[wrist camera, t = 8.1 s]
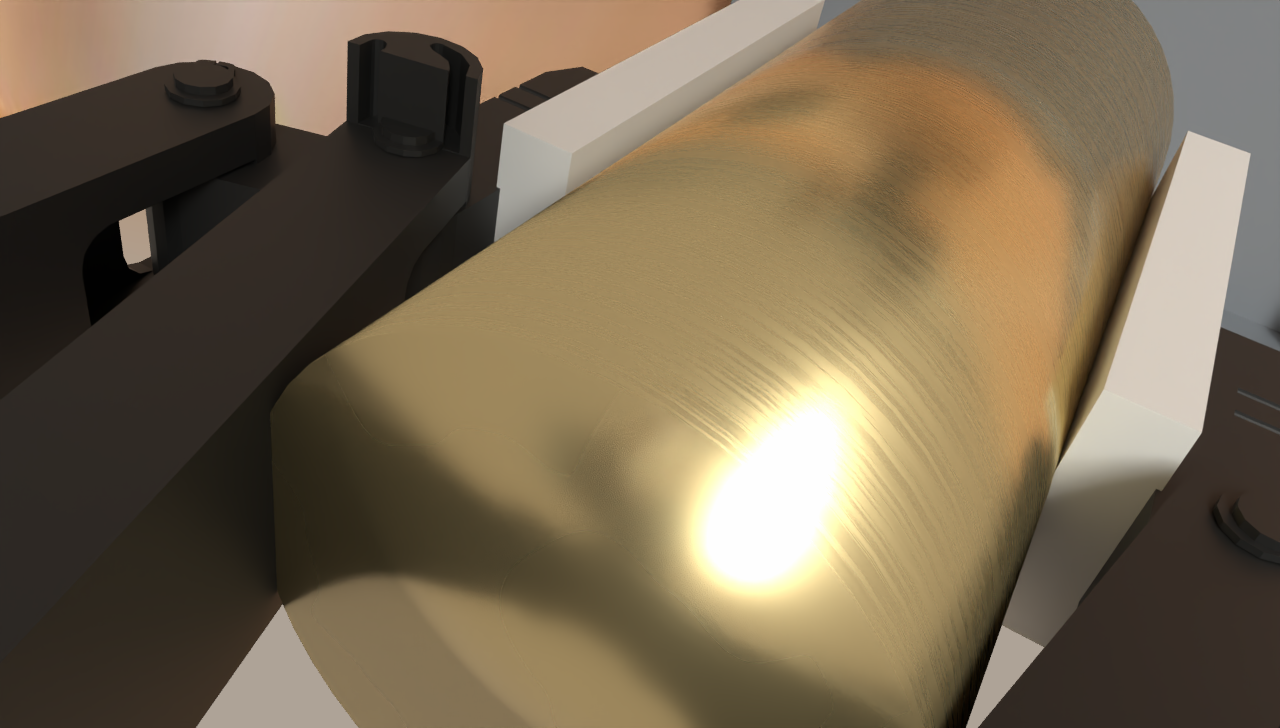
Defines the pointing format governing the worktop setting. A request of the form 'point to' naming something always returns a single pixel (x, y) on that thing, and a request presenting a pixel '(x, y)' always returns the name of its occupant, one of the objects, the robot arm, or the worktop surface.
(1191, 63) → the tray
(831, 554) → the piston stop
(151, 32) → the worktop surface
